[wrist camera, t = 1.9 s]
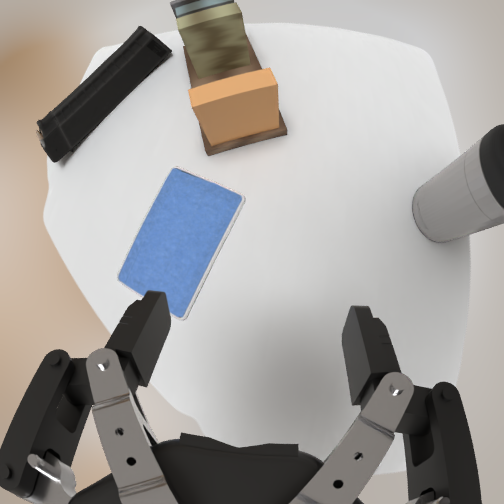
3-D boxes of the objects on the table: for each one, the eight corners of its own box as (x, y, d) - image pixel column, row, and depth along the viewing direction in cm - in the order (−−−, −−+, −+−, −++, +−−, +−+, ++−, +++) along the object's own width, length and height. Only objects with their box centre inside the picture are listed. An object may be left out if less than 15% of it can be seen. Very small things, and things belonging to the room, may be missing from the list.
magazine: (160, 14, 35) (13, 101, 26) (170, 17, 35) (16, 108, 26) (167, 79, 51) (52, 160, 42) (176, 84, 51) (57, 169, 42)
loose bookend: (273, 112, 38) (270, 67, 28) (279, 127, 38) (277, 84, 28) (207, 130, 39) (188, 89, 29) (211, 146, 38) (191, 107, 28)
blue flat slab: (175, 166, 41) (172, 163, 39) (248, 197, 39) (247, 194, 38) (118, 280, 40) (113, 279, 38) (186, 322, 38) (183, 323, 37)
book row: (244, 34, 43) (235, -17, 29) (286, 134, 39) (287, 75, 26) (185, 51, 43) (164, 2, 30) (208, 156, 40) (178, 104, 26)
